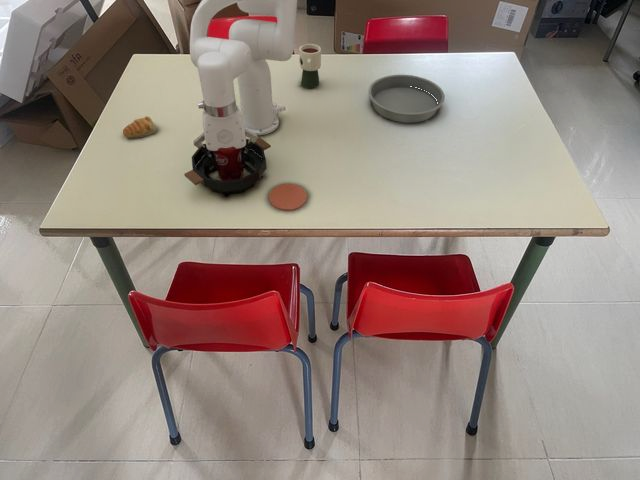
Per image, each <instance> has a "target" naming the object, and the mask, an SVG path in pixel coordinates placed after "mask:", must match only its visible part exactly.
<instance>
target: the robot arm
mask: <svg viewBox="0 0 640 480" xmlns="http://www.w3.org/2000/svg"><path fill="white" fill-rule="evenodd" d="M234 4H237V7H238V9H239V10H240V11H241V12H243V13H247V14H252V15H260V16H269V17H275V18H276V20H277V21H270V20H269V21H268V20H262V19H261V20H260V19H250V18H241V19H237V20H235V21H234V22H233V23H231V24H230V27H229V30H228V38H220V37H212V36H208V29H209V26H210V23H211V21H212V19H213V18H214V17H215V15H216V14H217V13H219V12H220V11H222V10H224V9H226V8H228V7H229V6H231V5H234ZM297 11H298V0H201V1H200V2H199V3H198V5H197V8H196V9H195V10H194V13H193V15H192V19H191V23H190V33H189V34H190V35H189V56H190V60H191V63H192V64H193V66H194V67H196V68H197V73H198V77H199V83H200V88H201V94H202V99H203V100H202V101H201V102H197V107H198V109H201V110H203V111H202V129H203V132H202V133H201V134H200V135H198V136H197V137H196V138H195V139H194V140H193V146H194V147H196V148H197V150H198V149H200V150H201V151H202V152H204V153H205V154H207V156H208V157H209V160H210V165H211V164H213V166H212V168H214V169H216V163H215V157H214V151H217V150H218V149H219V148H220V147H231V146H233V147H236V149H238V148H240V149H241V150H242V159H243V165H244V166H246V164H247V162H246V161H248V156H247V153H248V150H249V149H250V148H251V147H252V146H253V144H254V143H255V142H256V141H257V139H258V137H259V136H264V135H268V134H270V133H273V132H274V131H275V130H276V129H278V127H279V126H280V125H279V123H280V120H279V117H278V116H277V115H279V113H281V112H283V111H286V106H285V104H283V103H282V104H281V103H280V104H278V105H277V103H276V102H274V103H273V90H272V73H271V69H270V66H269V63H268V62H267V61H275V62H287V61H289V60H290V59H291V58H292V56H293V54H294V50H295V41H296V26H297V13H298V12H297ZM235 79H237V83H238V84H237V85H238V92H239V93H238V94H239V102H240V107H239V106H238V105H237V101H236V92H235V84H234V80H235ZM247 138H248V139H249V140H248V141H247V142H246V139H247ZM203 142H204V143H203ZM205 143H206V145H204V144H205Z"/></svg>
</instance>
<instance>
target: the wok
mask: <svg viewBox="0 0 640 480" xmlns="http://www.w3.org/2000/svg"><path fill="white" fill-rule="evenodd" d="M257 137H258V139H257V141H256V142H255V143H254V144H253V146H252V147H251V148H250V149H249V150H248V153H247V156H248V161H246V166H244V170H245V171H247V172H248V173H249V174H248V175H246V176H245V175H244V177H243V178H242V179H234V180H227V181H221V180H220V179H215V178H213V177H212V176H210V175H211V174H213V173H215V172H217V168H216V169H214V168H213V164H211V165H210V160H209V157H208V156H207V154H205V153H204V152H202V151H201V150H200V149H198V148H197V150H196V151H195V152H194V153H193V154H192V155H191V166H192V167H191V170H189V171H188V172H184V173H183V176H184V177H185V178H186V179H188V181H190V183H192V184H193V185H194V186H197V185H200V184H201V185H202V186H203V187H205V188H207V189H208V190H210V191H211V193H216V194H218V195H222V196H223V197H225V198H229V197H230V196H232V195H237V194H238V195H239V194H244V193H246V192H247V191H249V190H251V189H252V188H254V187H255V186H256V185H257V184H258V182H259V181H260V180H261V179H264V176H263V175H264V173H265V172H266V171H267V169H268V168H267V167H268V166H267V158H266V154H265V151H266V150H268V149H270V148H272V146H271V144H270V143H268V141H266V140H264V139H263V138H261V137H260V136H257ZM249 139H250V138H246V142H247V141H248V140H249ZM203 144H204V145H206V143H205V142H204V143H203ZM247 163H248V164H247ZM250 165H251V166H250Z"/></svg>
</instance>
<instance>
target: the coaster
mask: <svg viewBox="0 0 640 480" xmlns="http://www.w3.org/2000/svg"><path fill="white" fill-rule="evenodd" d="M307 199H308V193H307V191H306V190H305V189H304V188H303V187H302V186H300V185H298V184H295V183H282V184H279V185H277V186H275V187H274V188H272V189H271V190H270V192H269V195H268V201H269V203H270V204H271V205H272V207H274V208H275V209H278V210H280V211H287V212H289V211H294V210H297V209H300V208H301V207H303V206H304V205H305V204H306V202H307Z"/></svg>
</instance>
